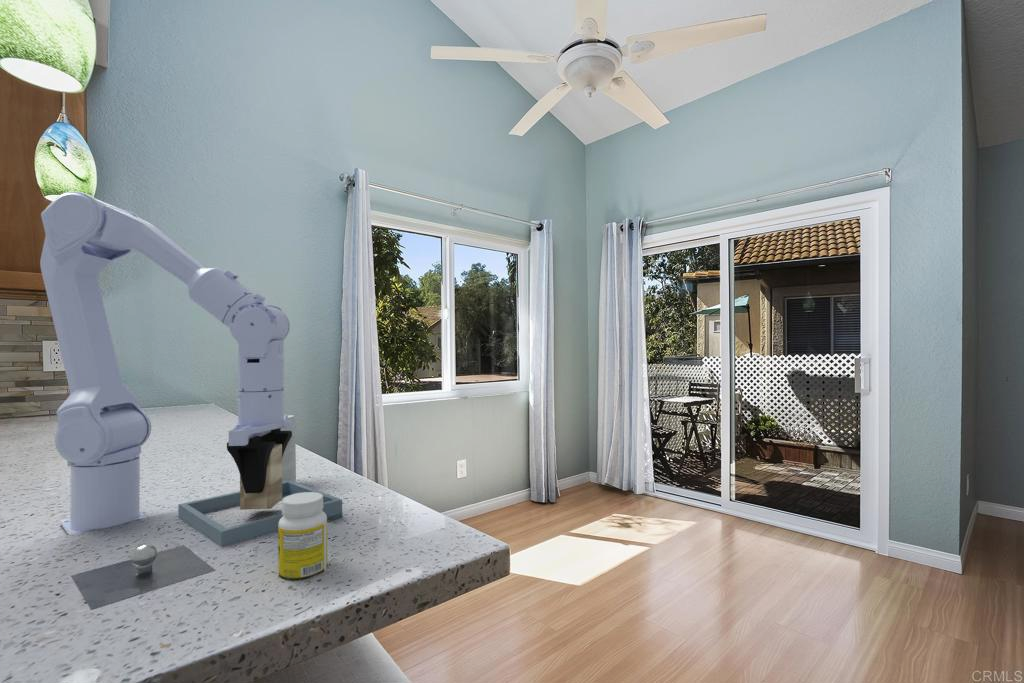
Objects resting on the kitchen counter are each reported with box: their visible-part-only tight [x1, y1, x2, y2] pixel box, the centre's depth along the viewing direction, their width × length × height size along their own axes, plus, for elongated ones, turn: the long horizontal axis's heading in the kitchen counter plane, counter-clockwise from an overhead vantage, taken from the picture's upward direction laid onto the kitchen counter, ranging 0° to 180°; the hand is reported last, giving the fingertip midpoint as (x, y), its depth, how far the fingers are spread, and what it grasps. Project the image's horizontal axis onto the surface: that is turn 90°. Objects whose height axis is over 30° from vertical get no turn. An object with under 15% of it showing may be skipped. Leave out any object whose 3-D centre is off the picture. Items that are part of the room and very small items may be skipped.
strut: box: [239, 444, 282, 511], centre depth 68 cm, size 4×4×8 cm
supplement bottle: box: [277, 492, 328, 582], centre depth 51 cm, size 5×5×8 cm
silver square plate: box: [70, 543, 216, 611], centre depth 51 cm, size 10×10×4 cm
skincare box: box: [281, 414, 297, 483], centre depth 85 cm, size 6×4×12 cm
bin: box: [177, 480, 343, 548], centre depth 68 cm, size 16×16×2 cm
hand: (261, 487), depth 68 cm, fingers closed on strut, 4 cm apart
